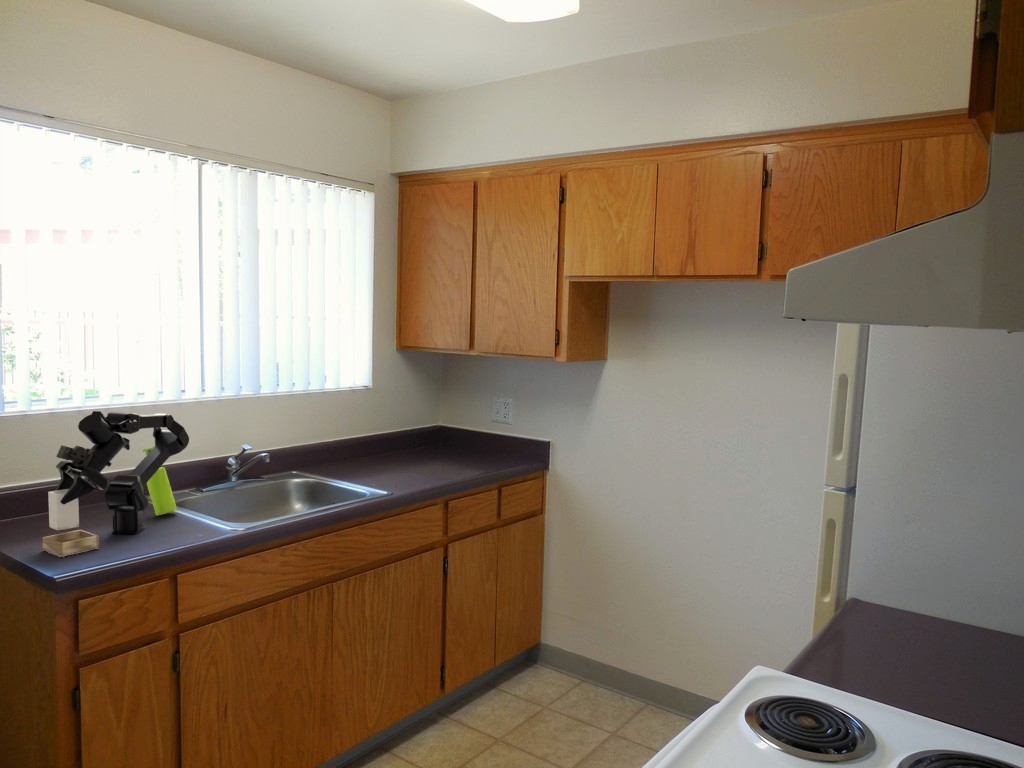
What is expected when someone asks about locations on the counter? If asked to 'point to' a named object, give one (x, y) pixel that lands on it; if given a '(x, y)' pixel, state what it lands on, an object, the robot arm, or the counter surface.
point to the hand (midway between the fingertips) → (57, 501)
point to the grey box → (62, 511)
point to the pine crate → (70, 542)
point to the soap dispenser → (160, 490)
